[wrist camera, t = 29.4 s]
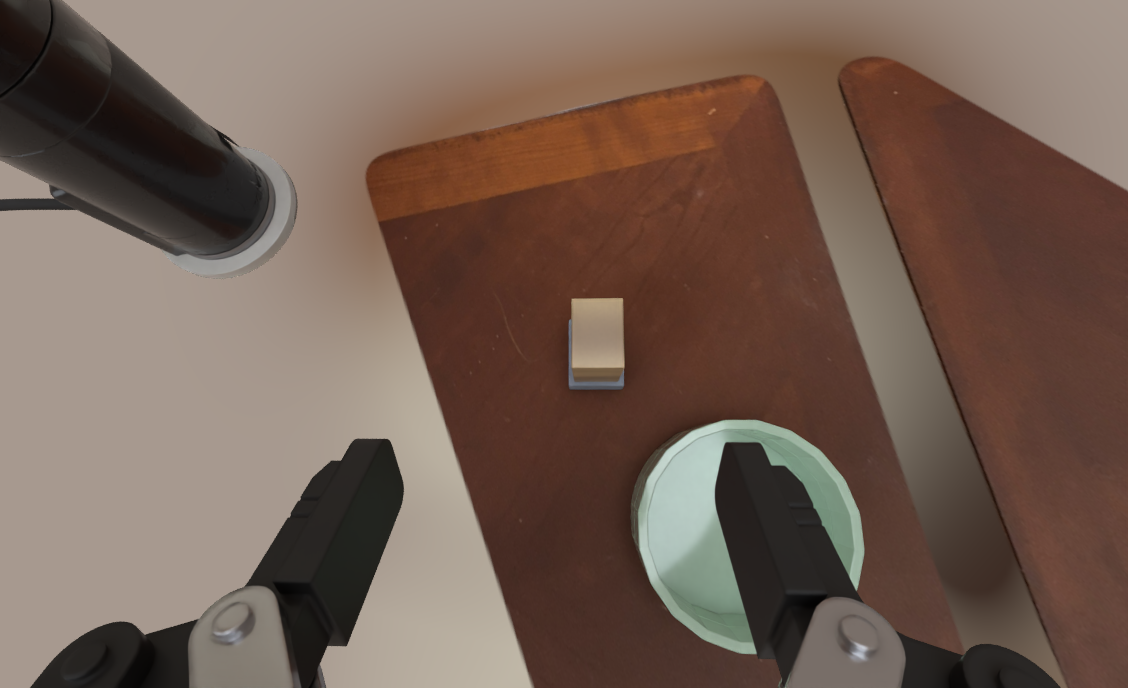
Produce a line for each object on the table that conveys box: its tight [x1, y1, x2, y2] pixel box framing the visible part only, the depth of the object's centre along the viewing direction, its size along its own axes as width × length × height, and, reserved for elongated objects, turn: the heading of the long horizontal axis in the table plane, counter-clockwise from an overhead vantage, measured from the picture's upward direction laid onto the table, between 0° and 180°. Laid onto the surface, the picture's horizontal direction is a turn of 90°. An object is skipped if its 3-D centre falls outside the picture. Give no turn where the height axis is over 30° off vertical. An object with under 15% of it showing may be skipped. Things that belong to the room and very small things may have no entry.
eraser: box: [569, 298, 625, 389], centre depth 33 cm, size 5×4×8 cm
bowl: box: [631, 420, 864, 654], centre depth 31 cm, size 13×13×6 cm
